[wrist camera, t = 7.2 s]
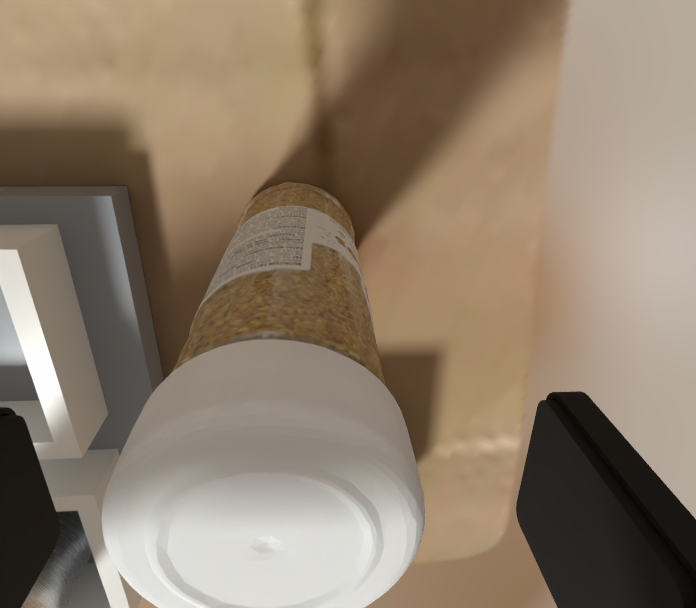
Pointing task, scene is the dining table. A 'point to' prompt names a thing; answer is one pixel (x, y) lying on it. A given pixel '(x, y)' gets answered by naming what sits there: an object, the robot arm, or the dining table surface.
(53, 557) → the grey domed bottle
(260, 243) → the sprinkles bottle
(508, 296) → the dining table surface
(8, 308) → the double square holder tray
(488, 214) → the dining table surface
